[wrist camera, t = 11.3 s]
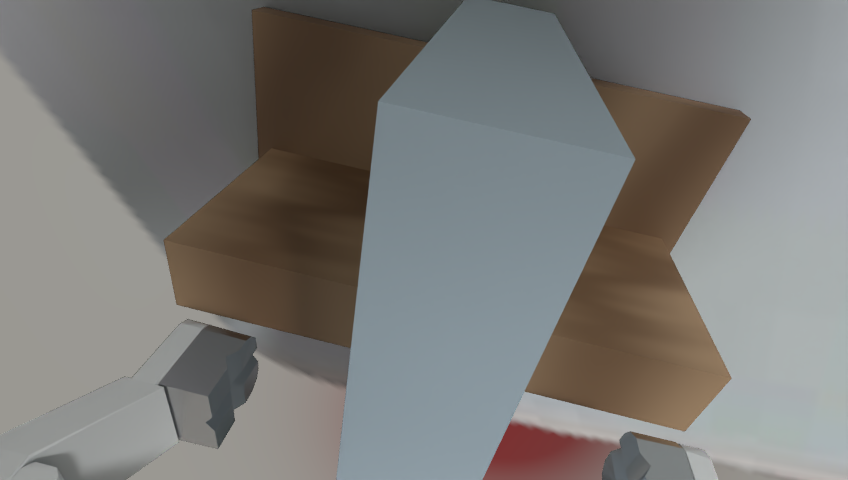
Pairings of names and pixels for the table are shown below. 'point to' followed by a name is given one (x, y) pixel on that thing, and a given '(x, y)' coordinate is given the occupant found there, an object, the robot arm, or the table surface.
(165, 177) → the table surface
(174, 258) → the jig
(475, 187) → the slotted plate
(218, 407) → the robot arm
